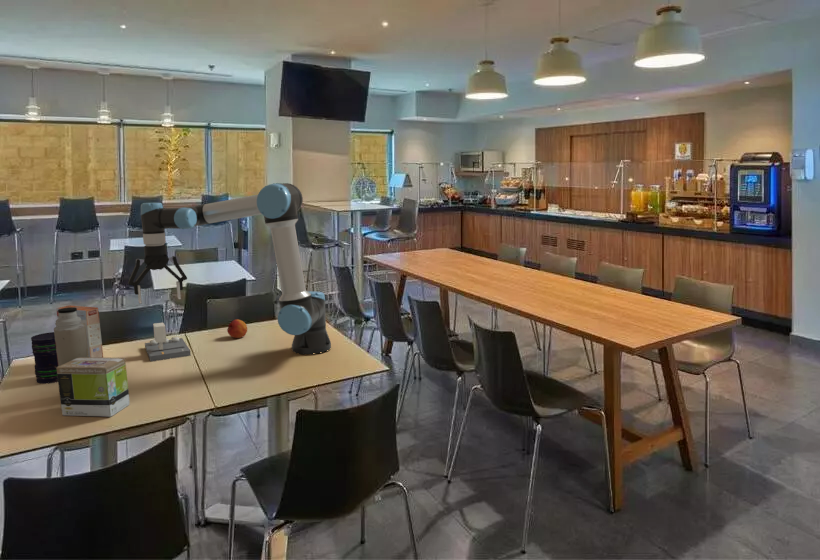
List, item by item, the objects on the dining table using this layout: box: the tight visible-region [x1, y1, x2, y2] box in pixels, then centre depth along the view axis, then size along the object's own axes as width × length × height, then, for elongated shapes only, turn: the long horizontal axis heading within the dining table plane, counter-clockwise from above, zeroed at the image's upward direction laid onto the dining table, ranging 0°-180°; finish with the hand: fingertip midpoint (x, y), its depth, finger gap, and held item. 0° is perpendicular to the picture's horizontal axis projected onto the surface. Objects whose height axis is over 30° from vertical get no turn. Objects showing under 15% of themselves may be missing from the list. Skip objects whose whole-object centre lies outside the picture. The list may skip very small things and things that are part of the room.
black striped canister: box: [30, 331, 58, 385], centre depth 192 cm, size 10×10×15 cm
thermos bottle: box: [53, 307, 88, 366], centre depth 175 cm, size 8×8×28 cm
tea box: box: [56, 357, 130, 418], centre depth 166 cm, size 15×10×15 cm, turn 84°
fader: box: [152, 322, 167, 350], centre depth 217 cm, size 6×4×10 cm, turn 30°
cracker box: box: [56, 304, 104, 358], centre depth 208 cm, size 14×6×21 cm, turn 71°
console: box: [144, 336, 192, 362], centre depth 223 cm, size 20×14×4 cm
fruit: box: [226, 318, 248, 339], centre depth 241 cm, size 8×8×8 cm
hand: (160, 300), depth 216 cm, fingers open, 13 cm apart
